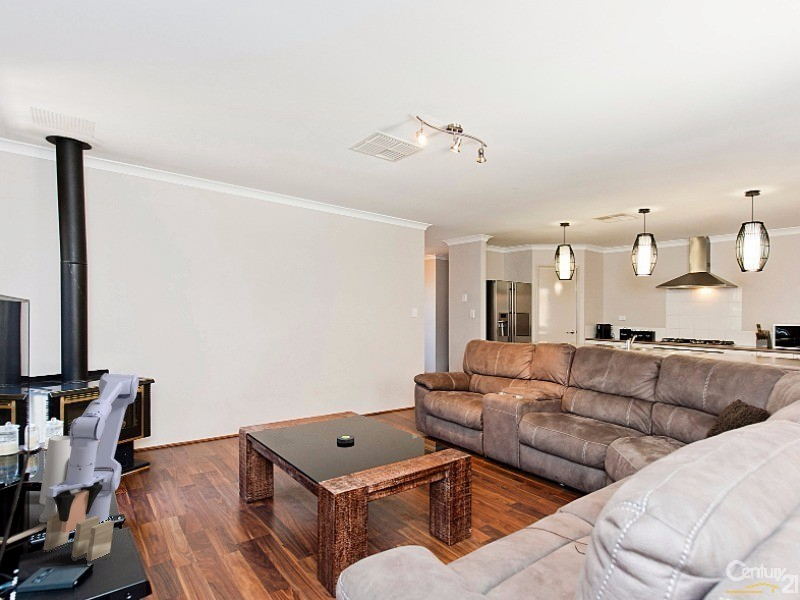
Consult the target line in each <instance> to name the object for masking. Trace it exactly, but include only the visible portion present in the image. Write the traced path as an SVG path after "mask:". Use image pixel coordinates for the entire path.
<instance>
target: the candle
mask: <svg viewBox="0 0 800 600" xmlns="http://www.w3.org/2000/svg"><path fill="white" fill-rule="evenodd" d="M70 453H71V446H70V435H69V436H68V435H58V436H52V437H48V442H47V449H46V456H45V464H44V469H43V475H42V480H41V489H40V496H39V501H38V503H39V504H40V505H44V506H45V505H46V502H45V501H46V498H45V496H46V495H47V492H48V488H49V487H53V486H55V485H57V484H60V483H62V482H64V481H66V480H67V473H68V467H69V460H70ZM75 492H79V491H78V489H75V490H72V491H70V493H71V494H72V493H75Z"/></svg>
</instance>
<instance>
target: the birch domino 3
mask: <svg viewBox="0 0 800 600" xmlns="http://www.w3.org/2000/svg"><path fill="white" fill-rule="evenodd" d="M114 524H115V521H114V520H111V519H110V520H109V521H106V522H104V523H101V524H98V525H96V526H93V527H91V531H90V538H89V545H88V552H87V557H86V560H89V561H92V560H94V559H97V558H99V557H102V556H104V555H106V554H108V553H111V546H112V540H113V533H114Z"/></svg>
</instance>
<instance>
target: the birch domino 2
mask: <svg viewBox="0 0 800 600" xmlns="http://www.w3.org/2000/svg"><path fill="white" fill-rule="evenodd" d="M99 520H100V517H96V516H95V517H92V518H89V519H86V520H84V521H81V522H78V523H76V530H75V529H74V531H75V532H74V537H73V545H72V552H71V557H72V556H73V557H76V558H77V557H79V556H81V555H83V554H85V553H87V552H88V545H89V538H90V531H91V527H93V526H96V525H98V524H99Z"/></svg>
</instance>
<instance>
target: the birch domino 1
mask: <svg viewBox="0 0 800 600" xmlns="http://www.w3.org/2000/svg"><path fill="white" fill-rule="evenodd" d="M46 524H47V525H46V532H45V538H44V545H43V550H49V549H52V548H55V547H57V546H60V545H63V544H65V543H67V542H68V543H69V536H70V531H69V532H66V533H64V532H61V526H62V521H59V513H58V511H56V513H53V514H50V515H49V517H48V523H46Z"/></svg>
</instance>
